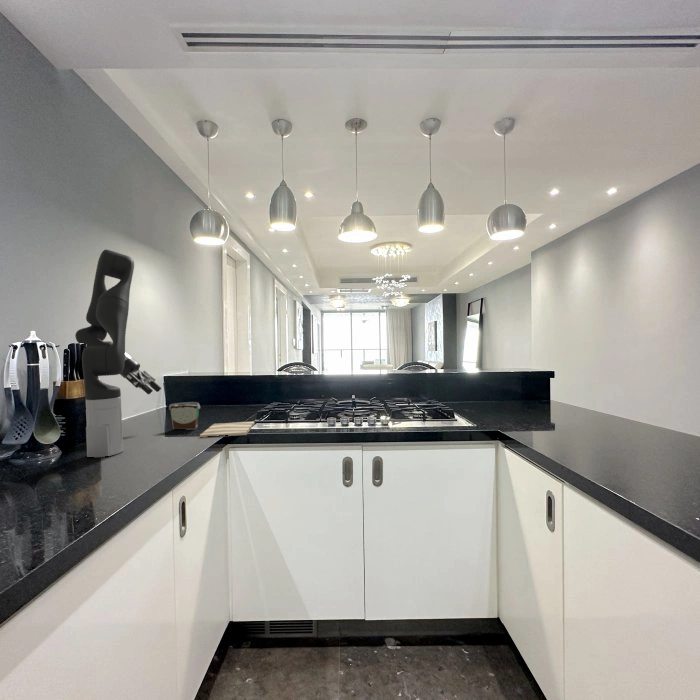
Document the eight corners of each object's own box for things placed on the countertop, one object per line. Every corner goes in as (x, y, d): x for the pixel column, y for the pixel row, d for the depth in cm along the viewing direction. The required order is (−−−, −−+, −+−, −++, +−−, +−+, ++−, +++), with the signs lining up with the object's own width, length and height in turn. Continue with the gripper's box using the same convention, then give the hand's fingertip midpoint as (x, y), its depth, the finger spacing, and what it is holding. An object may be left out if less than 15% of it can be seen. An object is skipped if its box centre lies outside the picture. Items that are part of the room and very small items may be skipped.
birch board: (246, 434, 140) (246, 432, 139) (200, 437, 138) (199, 434, 138) (254, 423, 159) (254, 421, 159) (214, 426, 158) (214, 423, 158)
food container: (206, 425, 159) (205, 401, 159) (199, 429, 153) (198, 403, 153) (178, 426, 161) (177, 402, 160) (169, 429, 154) (168, 404, 154)
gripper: (121, 357, 147) (154, 386, 149) (138, 356, 162) (168, 382, 163) (107, 372, 147) (140, 400, 148) (125, 369, 161) (155, 396, 162)
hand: (155, 391), depth 156 cm, fingers open, 8 cm apart
